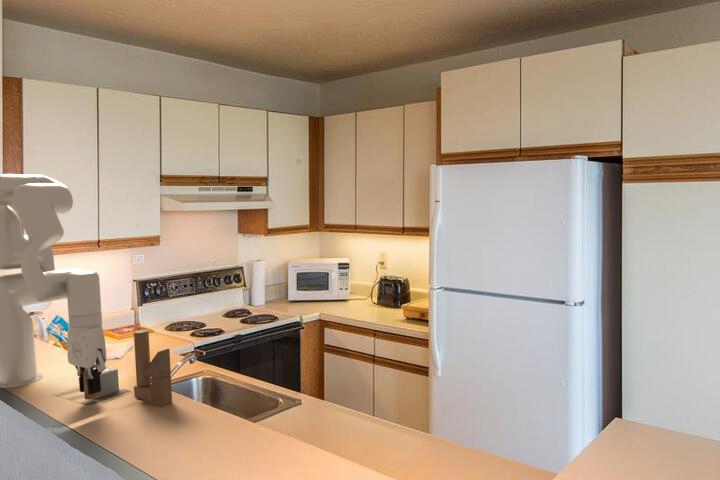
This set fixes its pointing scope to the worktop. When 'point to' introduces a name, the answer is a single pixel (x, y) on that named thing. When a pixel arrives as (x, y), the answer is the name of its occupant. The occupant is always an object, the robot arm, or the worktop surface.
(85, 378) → the grey-capped wooden cylinder
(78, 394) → the panel
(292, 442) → the worktop surface
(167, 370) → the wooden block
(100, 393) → the block
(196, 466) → the worktop surface
